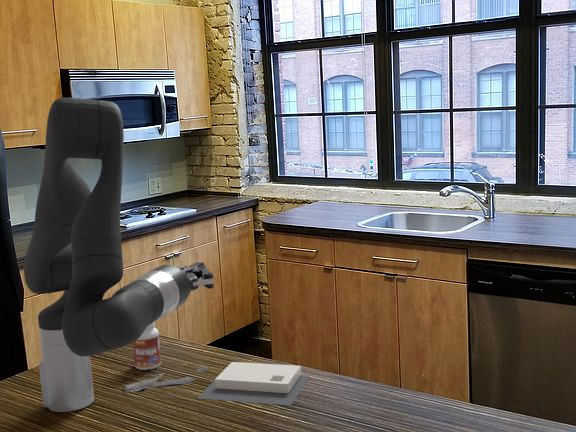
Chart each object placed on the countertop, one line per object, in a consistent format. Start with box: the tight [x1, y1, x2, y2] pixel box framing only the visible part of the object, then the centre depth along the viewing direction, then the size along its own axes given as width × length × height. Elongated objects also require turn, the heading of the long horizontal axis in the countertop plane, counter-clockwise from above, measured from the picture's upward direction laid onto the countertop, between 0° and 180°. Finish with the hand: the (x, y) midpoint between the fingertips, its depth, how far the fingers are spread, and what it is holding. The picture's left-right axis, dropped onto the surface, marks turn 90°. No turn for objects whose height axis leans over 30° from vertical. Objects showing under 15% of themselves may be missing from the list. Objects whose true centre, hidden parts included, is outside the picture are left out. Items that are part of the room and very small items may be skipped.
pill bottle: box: [132, 321, 162, 371], centre depth 158 cm, size 6×6×11 cm
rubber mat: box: [196, 374, 311, 406], centre depth 141 cm, size 20×15×1 cm
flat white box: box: [214, 361, 302, 393], centre depth 144 cm, size 16×2×10 cm
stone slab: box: [123, 365, 209, 393], centre depth 149 cm, size 18×2×10 cm
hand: (200, 267), depth 125 cm, fingers closed
